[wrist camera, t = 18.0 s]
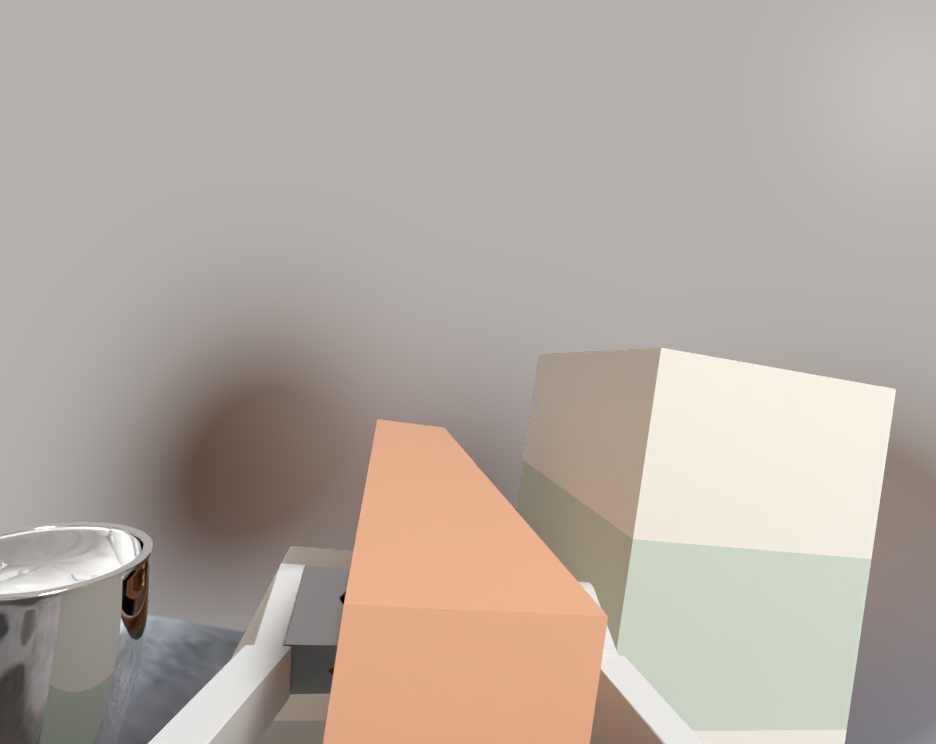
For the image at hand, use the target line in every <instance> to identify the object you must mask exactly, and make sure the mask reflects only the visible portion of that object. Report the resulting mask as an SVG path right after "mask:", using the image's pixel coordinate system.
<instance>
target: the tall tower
mask: <svg viewBox="0 0 936 744" xmlns="http://www.w3.org/2000/svg"><path fill="white" fill-rule="evenodd" d="M895 392H896V389H892V388H886V387H880V386H875V385H869V384H864V383H857V382H852V381H847V380H841V379H835V378H830V377H824V376H818V375H813V374H807V373H801V372H796V371H790V370H784V369H779V368H772V367H767V366H761V365H756V364H750V363H744V362H739V361H733V360H727V359H722V358H715V357H711V356H705V355H699V354H694V353H688V352H682V351H676V350H671V349H665V348H649V349H629V350H610V351H590V352H570V353H552V354H539V355H538V362H537V369H536V376H535V383H534V389H533V396H532V402H531V409H530V416H529V422H528V429H527V436H526V442H525V449H524V457H523V463H522V469H521V476H520V483H519V489H518V496H517V503H516V509H515V510H516V511H517V512H518V513H519V515H520V516H521V517H522V518H523V519H524V520H525V521H526V523H527V524H528V525H529V526H530V527H531V528H532V529H533V531H534V532H535V533H536V534H537V535H538V536H539V537H540V539H541V540H542V541H543V542H544V543H545V544H546V546H547V547H548V548H549V549H550V550H551V551H552V552H553V554H554V555H555V556H556V557H557V558H558V559H559V560H560V562H561V563H562V564H563V565H564V566H565V567H566V568H567V570H568V571H569V572H570V573H571V574H572V575H573V577H574V578H575V579H576V580H577V581H578V582H588V583H590V584H591V585H592V586H593V588H594V590H595V593H596V596H597V598H598V601H599V604H600V607H601V609H602V610H603V611H604V612H605V613H606V614H607V616H608V621H607V626H608V629H609V632H610V634H611V637H612V640H613V643H614V645H615V648H616V651H617V654H618V655H622V656H625V657H626V658H627V659H628V661H629V662H630V663H631V664H632V665H633V666H634V667H635V668H636V669H637V670H638V672H639V673H640V674H641V675H642V676H643V677H644V678H645V679H646V680H647V681H648V682H649V684H650V685H651V686H652V687H653V688H654V689H655V690H656V691H657V692H658V693H659V695H660V696H661V697H662V698H663V699H664V700H665V701H666V702H667V703H668V704H669V706H670V707H671V708H672V709H673V710H674V711H675V712H676V713H677V714H678V715H679V717H680V718H681V719H682V720H683V721H684V722H685V723H686V724H687V725H688V726H689V728H690V729H691V730H692V731H693V732H694V733H695V734H696V735H697V736H698V737H699V739H700V740H701V741H702V742H703V743H704V744H845V736H846V730H847V723H848V716H849V709H850V701H851V695H852V688H853V682H854V674H855V668H856V661H857V654H858V647H859V640H860V633H861V626H862V619H863V613H864V606H865V598H866V592H867V585H868V578H869V571H870V564H871V558H872V551H873V543H874V537H875V530H876V523H877V516H878V509H879V502H880V496H881V488H882V482H883V475H884V467H885V461H886V454H887V447H888V440H889V434H890V427H891V420H892V413H893V405H894V399H895Z"/></svg>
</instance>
